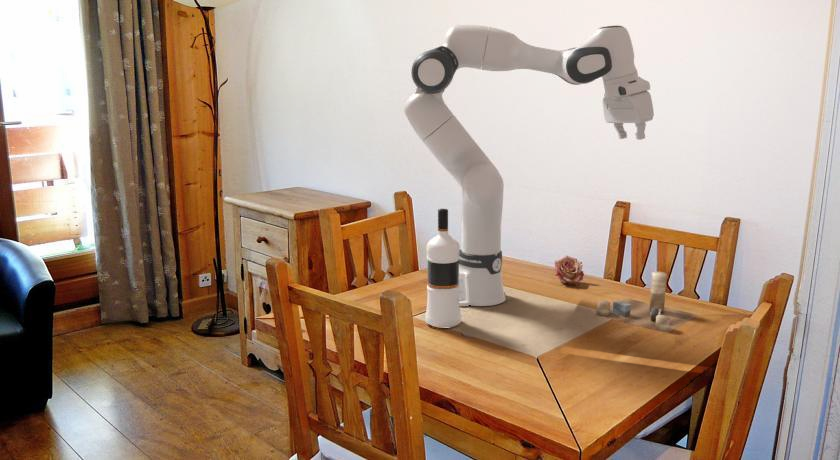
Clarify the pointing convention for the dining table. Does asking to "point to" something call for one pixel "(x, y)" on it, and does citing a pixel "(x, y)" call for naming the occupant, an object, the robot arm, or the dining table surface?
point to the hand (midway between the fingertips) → (631, 138)
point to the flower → (569, 270)
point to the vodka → (443, 277)
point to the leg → (657, 294)
